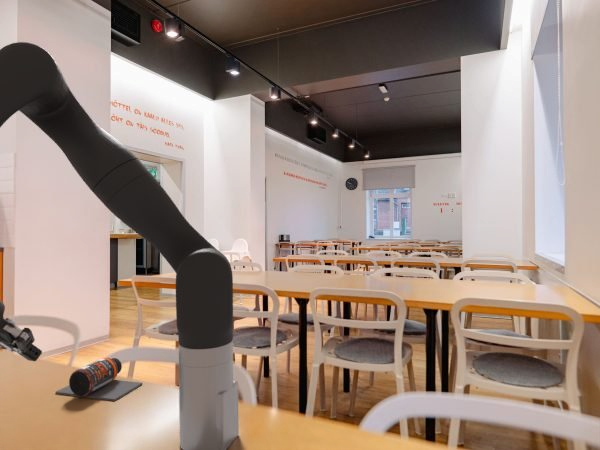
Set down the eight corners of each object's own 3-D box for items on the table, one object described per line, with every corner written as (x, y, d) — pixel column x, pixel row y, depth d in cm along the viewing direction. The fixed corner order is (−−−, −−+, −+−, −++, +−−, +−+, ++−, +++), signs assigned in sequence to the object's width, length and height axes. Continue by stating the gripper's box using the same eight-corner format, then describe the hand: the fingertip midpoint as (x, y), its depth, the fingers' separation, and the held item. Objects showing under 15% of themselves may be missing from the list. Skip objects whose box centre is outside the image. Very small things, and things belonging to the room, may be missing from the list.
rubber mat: (142, 384, 93) (142, 382, 93) (114, 401, 84) (114, 399, 84) (87, 378, 97) (87, 376, 97) (55, 393, 88) (55, 391, 88)
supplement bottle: (82, 365, 85) (118, 349, 96) (63, 378, 86) (100, 360, 97) (95, 390, 84) (129, 370, 95) (75, 402, 85) (111, 381, 96)
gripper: (6, 288, 65) (73, 342, 76) (-44, 285, 69) (26, 336, 81) (-31, 329, 60) (47, 379, 71) (-82, 322, 64) (-1, 370, 76)
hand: (36, 356), depth 76 cm, fingers closed
